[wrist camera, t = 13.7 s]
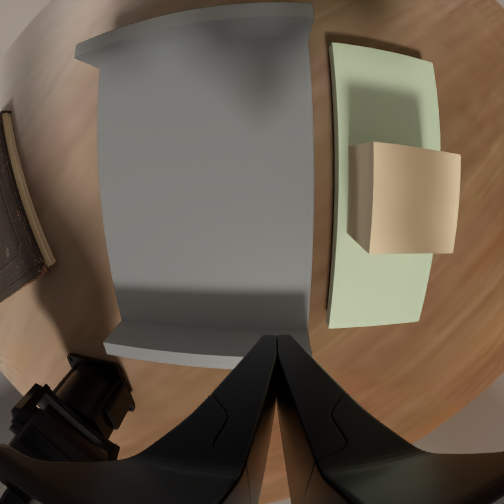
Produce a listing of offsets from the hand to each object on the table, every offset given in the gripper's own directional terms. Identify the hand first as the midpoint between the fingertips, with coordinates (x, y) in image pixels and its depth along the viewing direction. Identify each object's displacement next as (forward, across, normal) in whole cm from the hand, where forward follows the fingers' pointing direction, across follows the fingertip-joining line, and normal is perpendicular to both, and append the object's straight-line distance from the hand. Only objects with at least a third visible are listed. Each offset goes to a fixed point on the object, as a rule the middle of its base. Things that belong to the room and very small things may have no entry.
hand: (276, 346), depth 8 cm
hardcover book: (+12, +31, -2) cm, 33 cm away
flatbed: (+10, +4, -4) cm, 12 cm away
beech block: (+9, -7, -4) cm, 12 cm away
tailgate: (+10, -4, -4) cm, 11 cm away
